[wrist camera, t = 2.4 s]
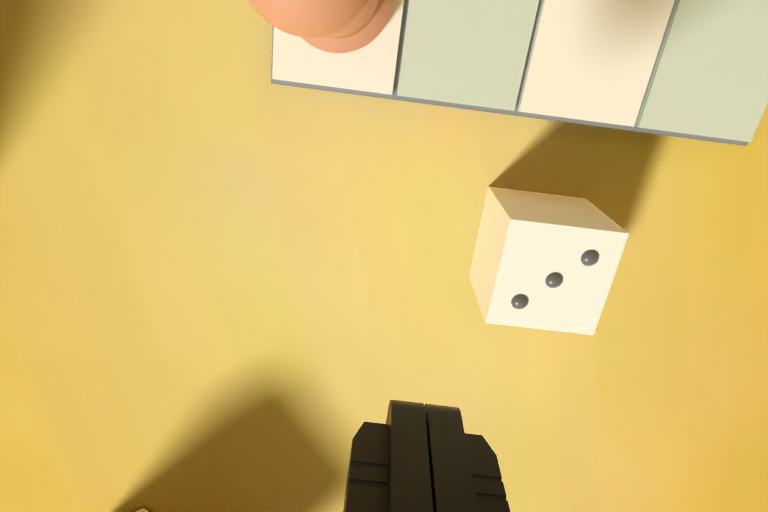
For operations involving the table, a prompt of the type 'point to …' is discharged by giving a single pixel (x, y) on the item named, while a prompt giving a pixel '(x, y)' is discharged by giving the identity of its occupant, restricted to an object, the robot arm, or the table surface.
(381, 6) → the pawn
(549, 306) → the die
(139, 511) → the candy box
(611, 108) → the track
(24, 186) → the table surface
